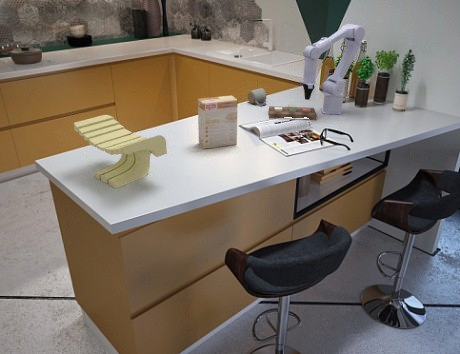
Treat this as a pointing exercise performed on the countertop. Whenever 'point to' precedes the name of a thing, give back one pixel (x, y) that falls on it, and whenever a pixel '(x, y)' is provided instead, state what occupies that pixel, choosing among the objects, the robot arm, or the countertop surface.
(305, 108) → the terracotta button
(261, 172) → the countertop surface
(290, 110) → the sage button
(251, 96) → the ceramic mug
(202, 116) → the coffeecake box
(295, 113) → the button panel
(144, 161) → the slatted lounge chair
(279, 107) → the cream button
